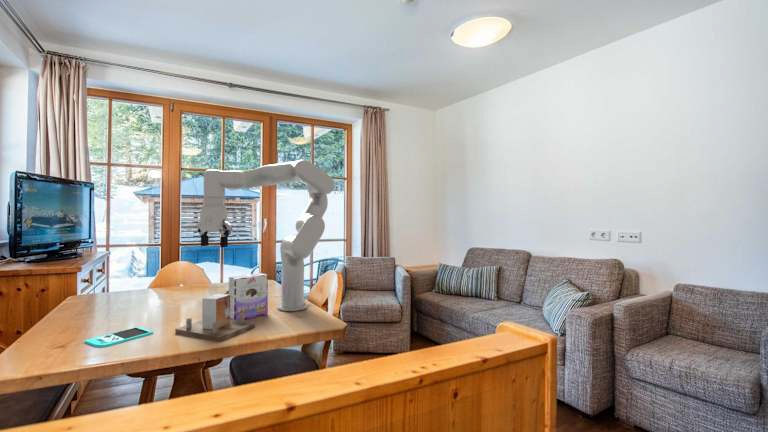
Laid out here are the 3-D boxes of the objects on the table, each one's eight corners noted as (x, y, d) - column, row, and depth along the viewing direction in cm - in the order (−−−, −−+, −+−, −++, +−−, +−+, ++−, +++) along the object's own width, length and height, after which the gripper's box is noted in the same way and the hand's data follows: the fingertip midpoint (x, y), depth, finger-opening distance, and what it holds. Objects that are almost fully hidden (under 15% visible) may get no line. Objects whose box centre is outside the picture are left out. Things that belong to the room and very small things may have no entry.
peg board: (213, 320, 141) (213, 307, 141) (254, 327, 133) (254, 313, 133) (175, 333, 126) (175, 318, 126) (219, 341, 118) (219, 326, 118)
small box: (215, 330, 125) (215, 299, 125) (201, 328, 126) (201, 298, 126) (230, 323, 133) (231, 294, 133) (217, 322, 134) (217, 293, 134)
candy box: (261, 311, 154) (261, 272, 154) (268, 314, 150) (268, 274, 150) (227, 318, 144) (228, 276, 144) (234, 321, 140) (234, 278, 140)
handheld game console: (83, 343, 116) (83, 339, 116) (138, 329, 130) (138, 326, 130) (99, 350, 112) (99, 345, 112) (154, 334, 126) (154, 330, 126)
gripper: (189, 201, 142) (189, 246, 142) (224, 202, 136) (224, 248, 136) (205, 202, 149) (205, 244, 149) (239, 202, 143) (239, 246, 143)
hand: (214, 246), depth 143 cm, fingers open, 9 cm apart
